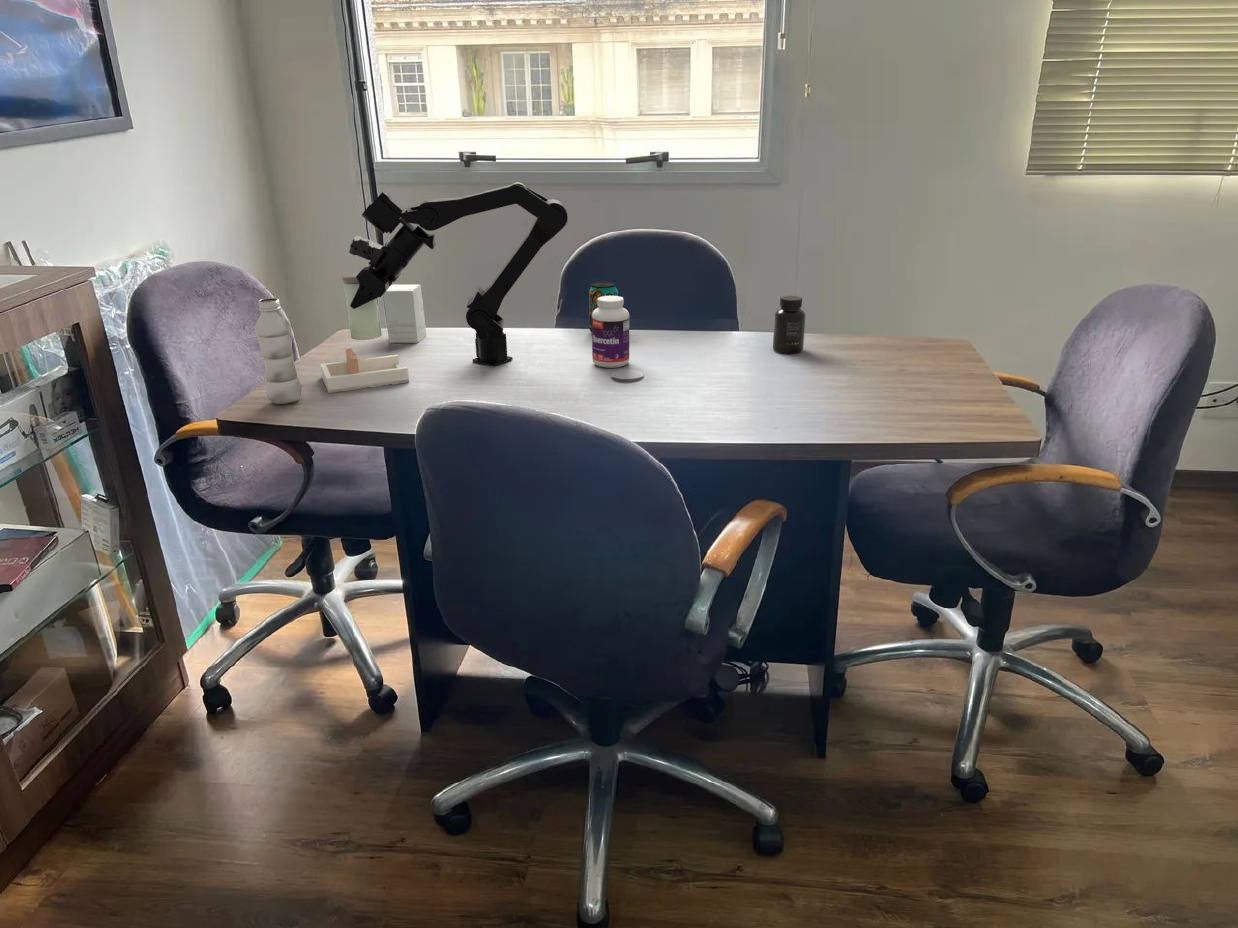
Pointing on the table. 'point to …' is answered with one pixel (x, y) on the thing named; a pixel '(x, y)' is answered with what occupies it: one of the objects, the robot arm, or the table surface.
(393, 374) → the white rectangular tray
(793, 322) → the supplement bottle
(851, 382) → the table surface
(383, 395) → the table surface
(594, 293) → the beverage can
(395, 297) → the supplement box
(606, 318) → the pill bottle
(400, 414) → the table surface
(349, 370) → the pusher paddle
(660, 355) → the table surface
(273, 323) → the plastic bottle
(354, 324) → the ceramic jar
